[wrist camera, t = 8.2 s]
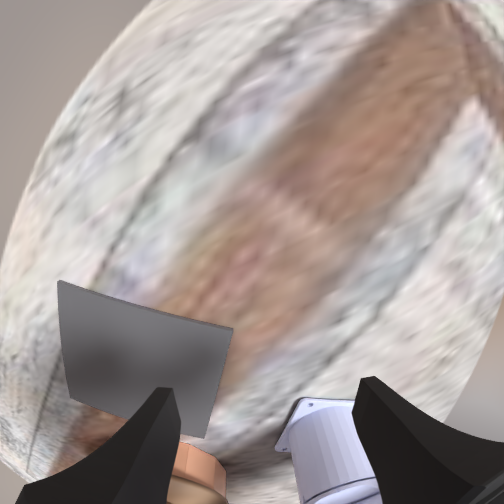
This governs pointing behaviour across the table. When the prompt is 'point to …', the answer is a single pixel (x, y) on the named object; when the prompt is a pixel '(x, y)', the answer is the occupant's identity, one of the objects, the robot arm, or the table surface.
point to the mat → (139, 356)
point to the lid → (192, 493)
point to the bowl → (200, 468)
